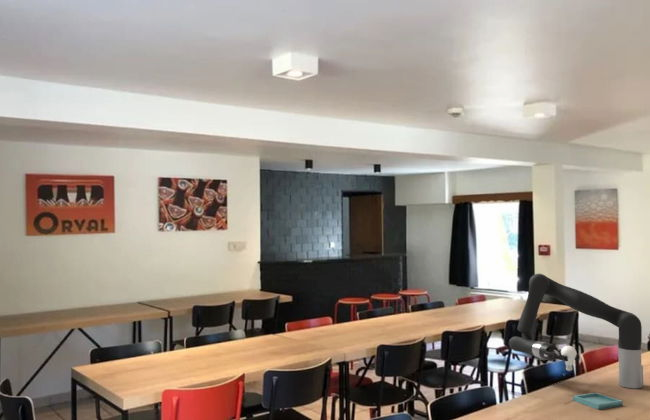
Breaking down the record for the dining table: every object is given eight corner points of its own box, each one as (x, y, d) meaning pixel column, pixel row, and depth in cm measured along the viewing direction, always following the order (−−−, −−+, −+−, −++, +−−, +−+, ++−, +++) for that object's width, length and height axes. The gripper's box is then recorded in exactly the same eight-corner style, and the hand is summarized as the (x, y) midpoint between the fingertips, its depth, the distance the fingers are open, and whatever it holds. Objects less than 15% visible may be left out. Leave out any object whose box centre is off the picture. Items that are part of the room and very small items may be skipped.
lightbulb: (575, 369, 249) (575, 344, 249) (578, 373, 243) (577, 347, 243) (560, 368, 251) (559, 344, 251) (562, 372, 245) (561, 346, 245)
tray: (596, 397, 241) (595, 392, 241) (622, 405, 229) (622, 400, 229) (573, 400, 236) (572, 395, 236) (598, 409, 224) (598, 404, 224)
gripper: (532, 344, 258) (560, 351, 242) (556, 341, 263) (585, 348, 248) (532, 360, 257) (560, 368, 242) (556, 357, 263) (585, 365, 247)
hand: (573, 358), depth 245 cm, fingers closed on lightbulb, 6 cm apart
